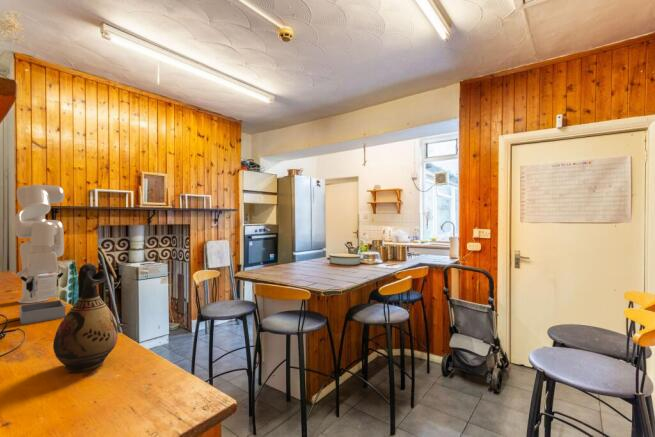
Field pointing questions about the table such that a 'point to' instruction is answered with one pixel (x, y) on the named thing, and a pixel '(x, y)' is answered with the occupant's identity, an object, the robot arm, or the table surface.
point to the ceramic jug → (86, 326)
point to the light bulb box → (43, 286)
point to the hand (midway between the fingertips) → (42, 289)
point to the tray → (41, 312)
